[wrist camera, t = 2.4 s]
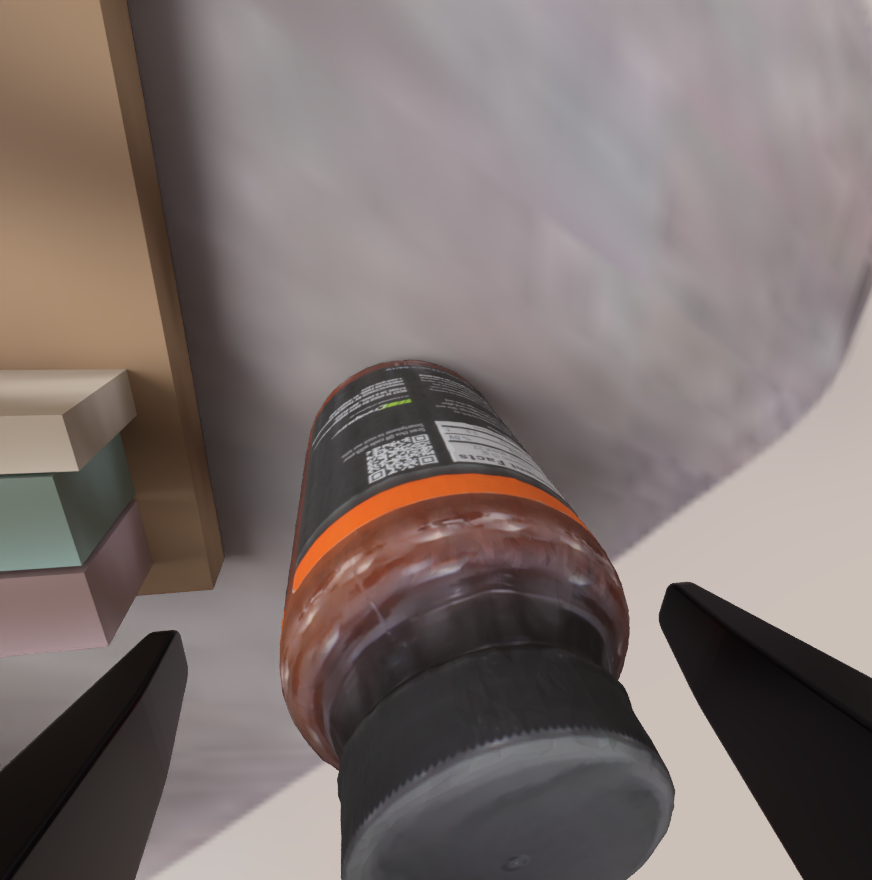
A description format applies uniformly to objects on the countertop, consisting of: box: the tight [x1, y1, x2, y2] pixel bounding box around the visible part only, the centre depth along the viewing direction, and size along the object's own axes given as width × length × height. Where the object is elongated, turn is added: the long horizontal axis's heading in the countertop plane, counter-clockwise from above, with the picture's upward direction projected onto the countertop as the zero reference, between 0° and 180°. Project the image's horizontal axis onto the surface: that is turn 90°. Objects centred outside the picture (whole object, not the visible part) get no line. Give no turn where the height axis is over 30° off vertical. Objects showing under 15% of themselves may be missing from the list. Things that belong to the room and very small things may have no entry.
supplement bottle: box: [280, 360, 675, 880], centre depth 11 cm, size 6×6×11 cm
